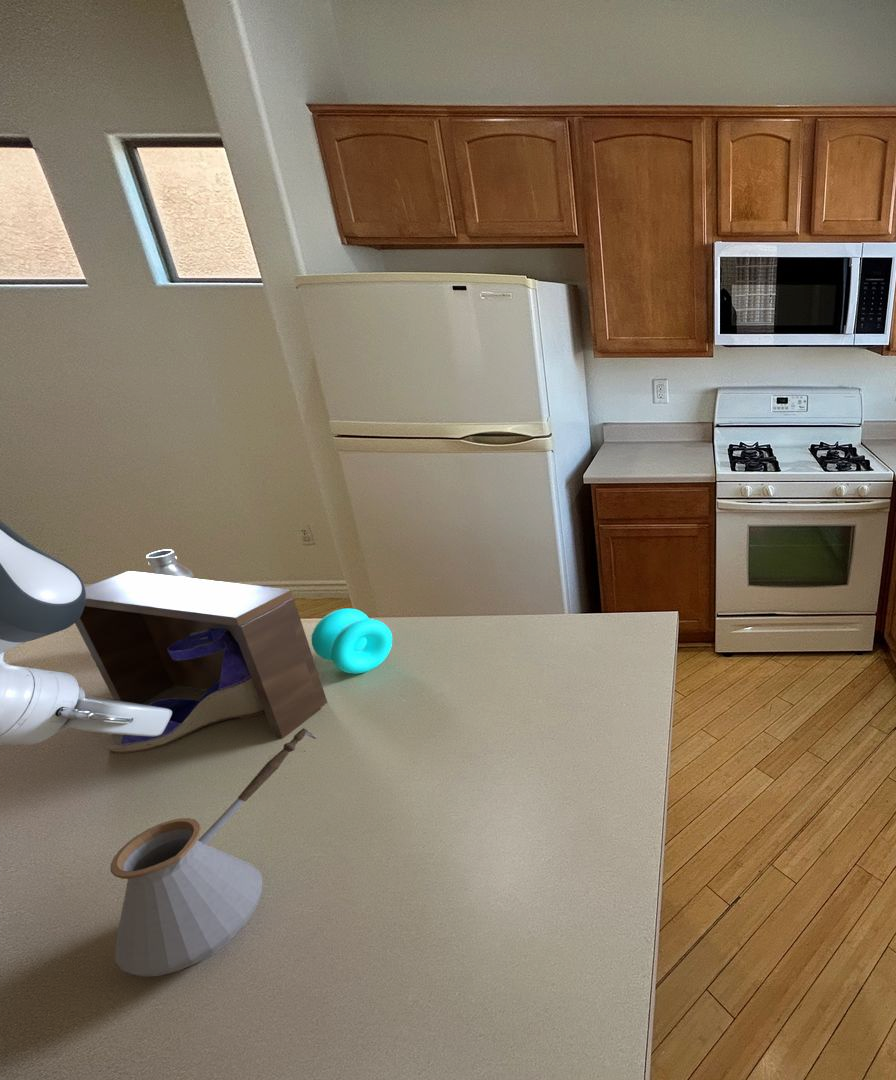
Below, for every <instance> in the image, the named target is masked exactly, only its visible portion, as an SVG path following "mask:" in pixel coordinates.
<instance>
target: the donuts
mask: <svg viewBox="0 0 896 1080" xmlns="http://www.w3.org/2000/svg"><path fill="white" fill-rule="evenodd" d="M311 646H312V648H313V649H312V650H313V651H314V652H315V653H316V655H317V656H319V657H320V658H322V659H324V660H326V661H330V662H333V664H334V665H335V667H337V669H339V670H340V671H342V672H345V673H346V674H355V675H357V674H364V673H366V672H369V671H371V670H374V669H375V668H377V667H378V666H380V665H381V664H382V663H383V662H384V661H385V660H386V659H387V657H388V656H389V654H390V652H391V650H392V646H393V633H392V632H391V630H390V628H389V627H388V626H387V624H386V623H384V622H382V621H380V620H378V619H374V618H369V617H368V615H367V614H366V613H365V612H363V611H361V610H359V609H356V608H350V607H349V608H347V607H346V608H340V609H336V610H333V611H331V612H329V613H328V614H326V615H324V617H322V618H321V619H320V620H318V622H317V624H316V625H315V627H314V628H313V631H312V634H311Z"/></svg>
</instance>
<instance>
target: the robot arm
mask: <svg viewBox="0 0 896 1080" xmlns="http://www.w3.org/2000/svg"><path fill="white" fill-rule="evenodd" d="M85 587H86V586H85V584H84V581H83V580H82V578H81V576H80V575H79V574H78V573H77V572H76V571H75V570H74V569H72V567H70V566H68V565H67V564H66V563H64V562H63V561H61V560H59V559H57V558H55V557H54V556H52V555H50V554H49V553H46V551H44V550H41V549H40V548H38V547H36V546H35V545H33V544H32V543H31V542H30V541H28V540H26V539H25V538H24V537H23V536H22V535H20V534H18V532H17V531H15V530H14V529H12V527H10V526H9V525H7V524H6V523H5V522H4V521H3V520H1V519H0V745H14V746H15V745H16V746H17V745H19V746H31V745H36V744H39V743H42V742H44V741H46V740H47V739H49V738H51V737H53V736H54V735H57V734H60V733H62V732H64V731H65V730H67V729H68V728H70V729H75V730H82V731H86V732H92V733H99V734H109V735H112V734H120V735H133V736H148V737H154V736H159V735H161V734H162V733H163V731H164V730H165V728H166V726H167V724H168V722H169V720H170V718H171V715H172V711H171V710H170V709H166V708H161V707H155V706H149V704H143V703H142V704H137V703H131V702H125V701H119V700H114V699H113V698H105V697H100V696H94V695H88V694H86V693H85V691H84V689H83V687H82V686H80V685H79V683H78V680H77V679H76V678H75V676H73V675H72V674H71V673H67V672H61V671H55V670H47V669H41V668H33V667H26V666H19V665H11V664H9V663H7V662H5V661H4V656H5V652H7V651H9V650H11V649H14V648H16V647H18V646H21V645H23V644H25V643H27V642H31V641H35V640H38V639H40V638H44V637H47V636H50V635H53V634H56V633H58V632H62V631H64V630H66V629H68V628H70V627H71V626H73V625H75V622H76V621H77V620H78V619H79V618H80V616H81V615H82V612H83V610H84V606H85V602H86V590H85Z"/></svg>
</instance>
